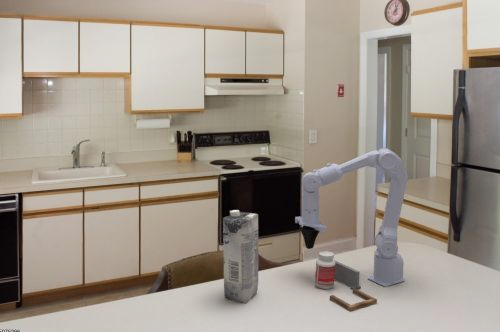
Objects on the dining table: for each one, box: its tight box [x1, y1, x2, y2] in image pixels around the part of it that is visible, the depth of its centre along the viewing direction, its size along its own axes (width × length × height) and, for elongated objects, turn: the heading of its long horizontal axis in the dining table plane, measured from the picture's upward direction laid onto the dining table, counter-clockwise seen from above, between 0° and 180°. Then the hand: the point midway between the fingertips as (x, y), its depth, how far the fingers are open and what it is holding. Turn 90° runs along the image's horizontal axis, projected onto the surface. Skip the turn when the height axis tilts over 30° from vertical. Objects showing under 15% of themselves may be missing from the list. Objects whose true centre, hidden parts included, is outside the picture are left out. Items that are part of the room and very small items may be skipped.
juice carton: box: [222, 209, 259, 304], centre depth 143 cm, size 9×10×27 cm
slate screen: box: [333, 259, 362, 291], centre depth 155 cm, size 3×14×6 cm, turn 30°
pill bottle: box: [314, 250, 336, 290], centre depth 151 cm, size 6×6×11 cm
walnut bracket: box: [329, 289, 378, 312], centre depth 141 cm, size 10×9×1 cm
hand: (309, 248), depth 158 cm, fingers closed
